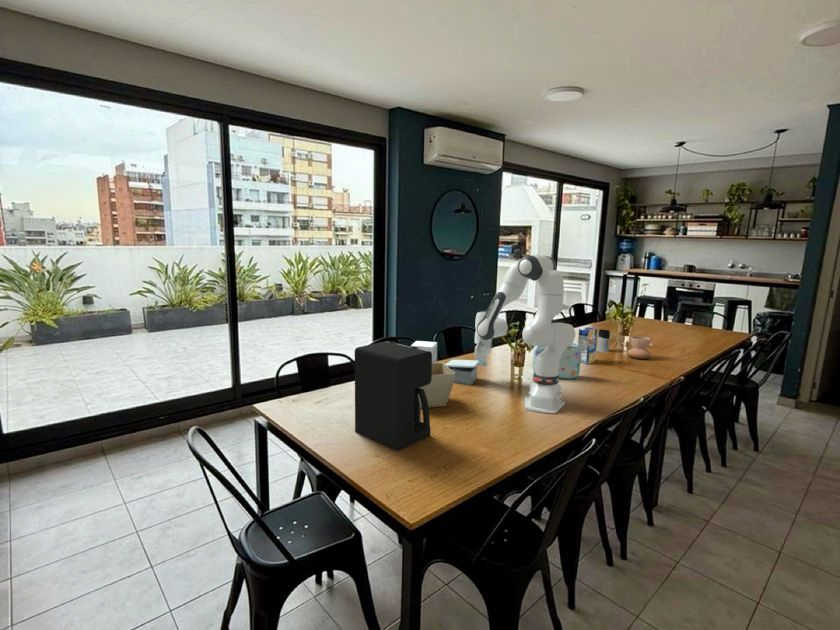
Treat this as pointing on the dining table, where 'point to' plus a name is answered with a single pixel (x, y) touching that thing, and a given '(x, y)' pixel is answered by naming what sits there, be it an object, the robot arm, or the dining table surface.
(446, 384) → the flower pot
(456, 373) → the tub
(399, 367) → the coffee maker
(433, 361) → the supplement box
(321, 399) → the dining table surface
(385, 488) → the dining table surface
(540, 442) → the dining table surface
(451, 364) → the lid
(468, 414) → the dining table surface
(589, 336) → the beverage box
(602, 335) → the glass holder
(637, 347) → the ceramic jug
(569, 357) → the lunch box
